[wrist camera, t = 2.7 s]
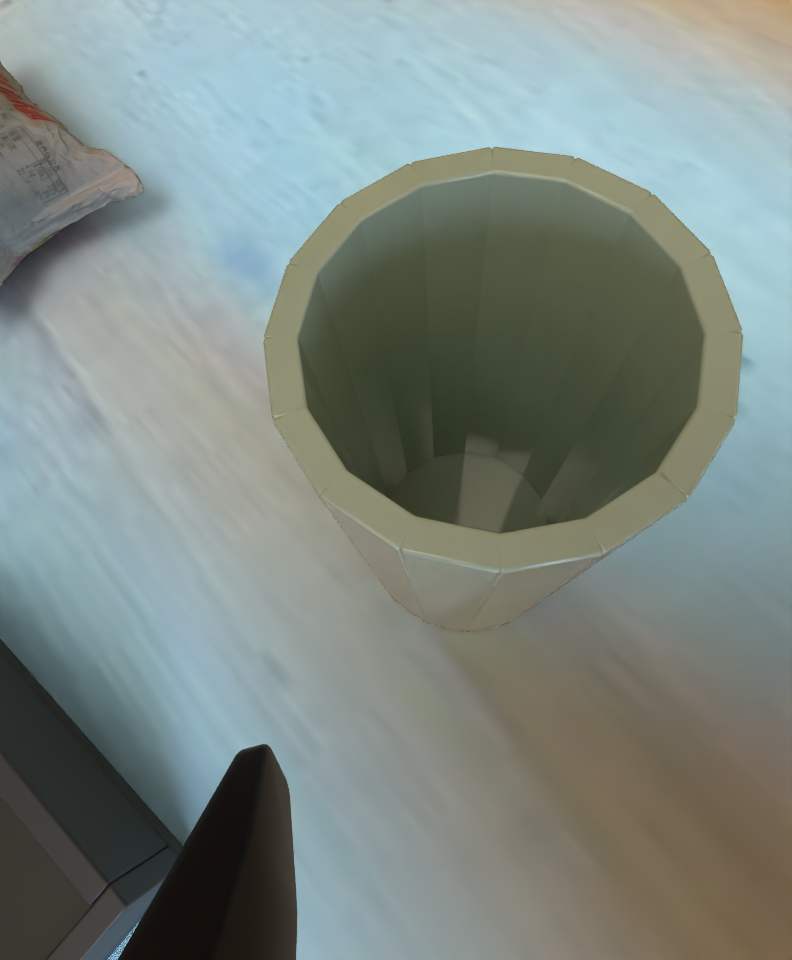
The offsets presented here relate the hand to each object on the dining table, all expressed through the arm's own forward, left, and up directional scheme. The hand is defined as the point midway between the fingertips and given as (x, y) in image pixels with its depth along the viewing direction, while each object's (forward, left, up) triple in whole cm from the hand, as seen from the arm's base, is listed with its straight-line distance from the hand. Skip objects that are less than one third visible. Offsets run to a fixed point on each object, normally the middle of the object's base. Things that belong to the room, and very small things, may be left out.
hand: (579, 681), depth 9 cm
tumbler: (+4, +2, -11) cm, 12 cm away
